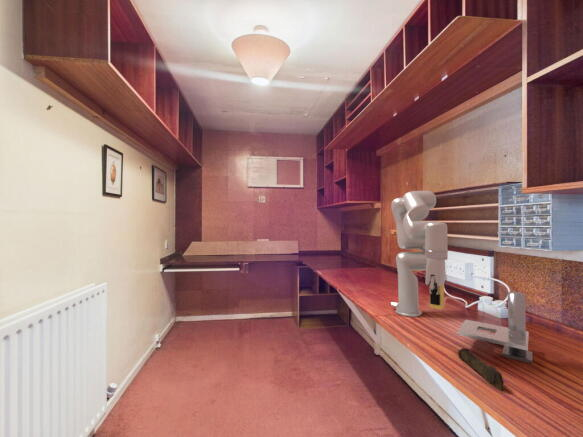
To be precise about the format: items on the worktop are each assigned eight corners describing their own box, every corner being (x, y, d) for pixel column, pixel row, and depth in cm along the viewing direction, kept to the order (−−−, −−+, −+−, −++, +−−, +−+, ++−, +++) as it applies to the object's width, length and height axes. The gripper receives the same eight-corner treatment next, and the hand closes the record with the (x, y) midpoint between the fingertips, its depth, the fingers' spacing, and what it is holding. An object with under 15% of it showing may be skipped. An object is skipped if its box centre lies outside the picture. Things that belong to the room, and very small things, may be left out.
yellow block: (429, 307, 107) (429, 283, 107) (432, 304, 110) (432, 281, 110) (441, 309, 104) (441, 285, 104) (444, 306, 107) (443, 283, 107)
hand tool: (457, 358, 98) (457, 345, 98) (469, 359, 98) (469, 346, 98) (491, 392, 79) (491, 376, 79) (506, 392, 79) (506, 376, 79)
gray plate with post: (457, 349, 105) (456, 290, 105) (466, 335, 117) (465, 282, 117) (532, 368, 91) (530, 300, 91) (532, 350, 103) (531, 290, 103)
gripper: (431, 251, 115) (432, 296, 116) (418, 256, 103) (419, 306, 103) (452, 253, 110) (452, 299, 111) (441, 258, 98) (442, 311, 98)
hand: (436, 302), depth 107 cm, fingers closed on yellow block, 4 cm apart
